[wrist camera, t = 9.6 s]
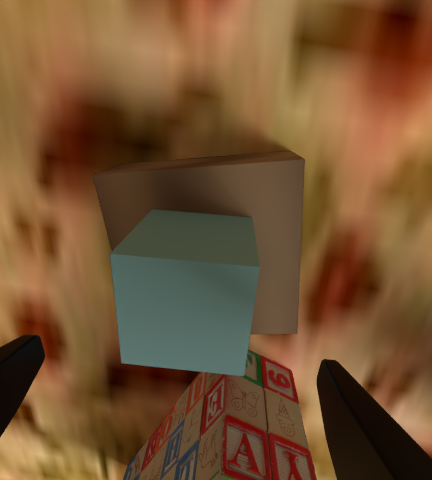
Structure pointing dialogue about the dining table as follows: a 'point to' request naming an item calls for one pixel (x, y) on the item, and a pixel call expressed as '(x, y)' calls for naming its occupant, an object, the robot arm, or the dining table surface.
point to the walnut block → (223, 203)
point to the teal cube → (186, 291)
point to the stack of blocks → (230, 430)
